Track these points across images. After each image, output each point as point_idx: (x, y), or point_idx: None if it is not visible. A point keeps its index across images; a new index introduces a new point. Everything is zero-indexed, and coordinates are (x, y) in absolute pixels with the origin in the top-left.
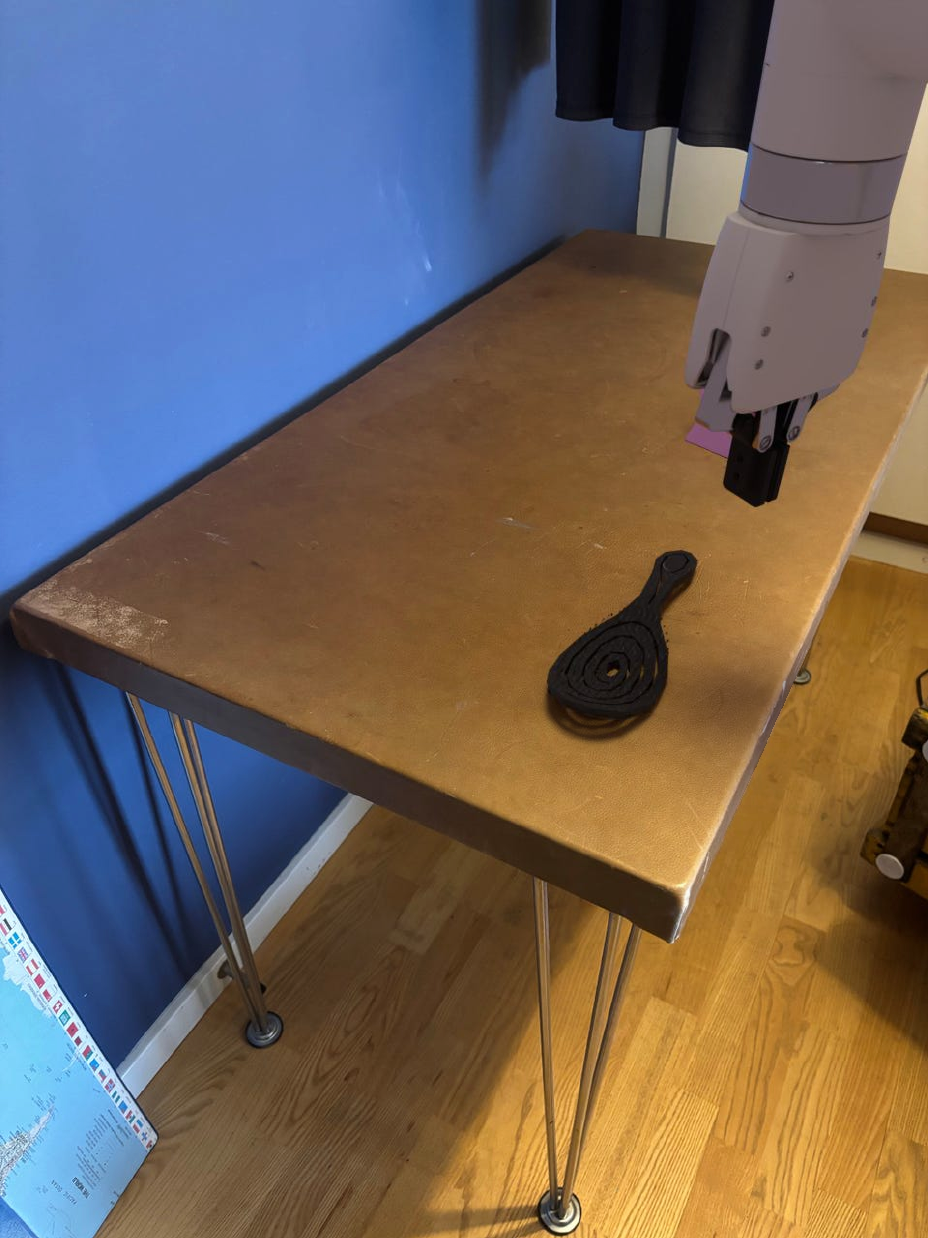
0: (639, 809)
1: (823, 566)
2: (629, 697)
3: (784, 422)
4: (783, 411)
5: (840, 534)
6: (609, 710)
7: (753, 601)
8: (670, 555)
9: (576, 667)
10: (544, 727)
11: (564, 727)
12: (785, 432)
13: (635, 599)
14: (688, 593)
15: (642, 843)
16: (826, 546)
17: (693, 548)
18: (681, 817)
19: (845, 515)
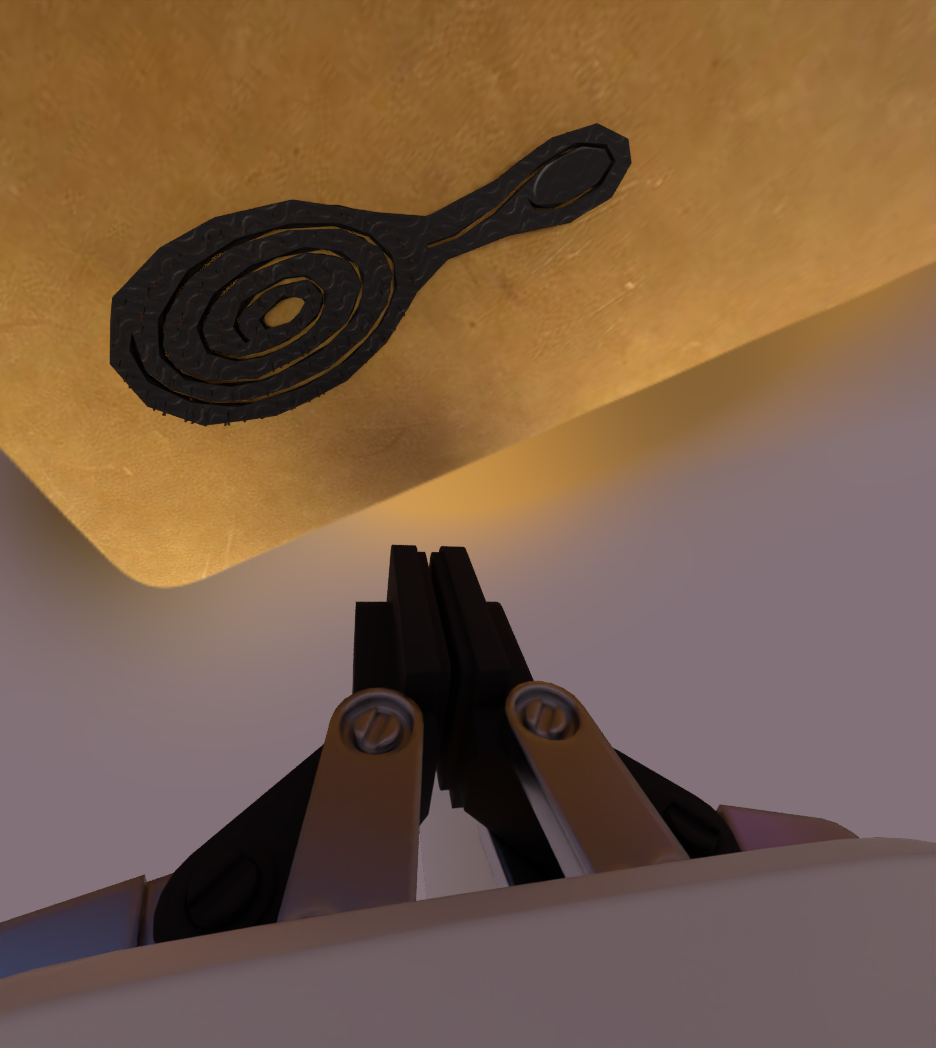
0: (168, 511)
1: (732, 342)
2: (250, 390)
3: (497, 856)
4: (548, 844)
5: (824, 305)
6: (177, 415)
7: (594, 329)
8: (591, 143)
9: (221, 270)
10: None
11: None
12: (482, 834)
13: (418, 217)
14: (542, 238)
15: (142, 545)
16: (783, 311)
17: (659, 140)
18: (210, 543)
19: (879, 276)
